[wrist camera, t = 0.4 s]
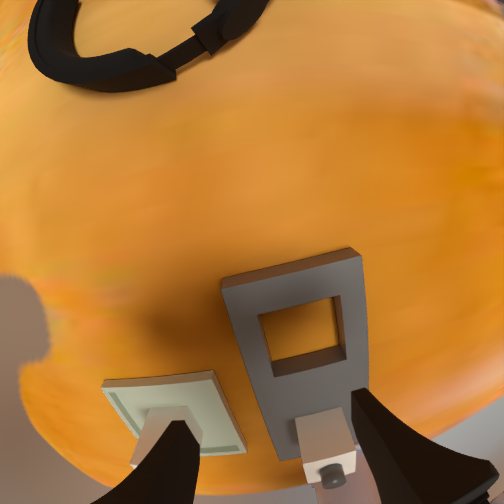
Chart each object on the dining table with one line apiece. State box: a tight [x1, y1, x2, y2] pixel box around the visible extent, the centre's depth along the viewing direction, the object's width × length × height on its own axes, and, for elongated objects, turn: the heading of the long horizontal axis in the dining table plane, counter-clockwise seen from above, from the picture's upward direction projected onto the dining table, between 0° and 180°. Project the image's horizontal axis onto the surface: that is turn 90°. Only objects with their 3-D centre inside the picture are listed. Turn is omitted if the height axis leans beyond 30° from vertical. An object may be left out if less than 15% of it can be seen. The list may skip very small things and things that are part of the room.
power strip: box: [221, 248, 369, 489], centre depth 17 cm, size 20×9×9 cm, turn 14°
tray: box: [101, 370, 247, 456], centre depth 22 cm, size 11×11×1 cm
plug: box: [130, 406, 203, 469], centre depth 18 cm, size 4×4×9 cm
